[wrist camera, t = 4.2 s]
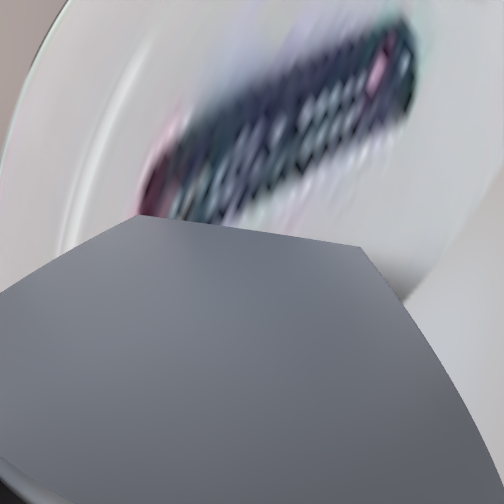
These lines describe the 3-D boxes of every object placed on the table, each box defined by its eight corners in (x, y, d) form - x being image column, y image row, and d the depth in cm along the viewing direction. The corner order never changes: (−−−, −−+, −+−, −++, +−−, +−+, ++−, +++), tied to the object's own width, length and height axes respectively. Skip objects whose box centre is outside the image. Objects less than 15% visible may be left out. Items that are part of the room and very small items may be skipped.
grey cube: (310, 406, 12) (313, 587, 4) (146, 377, 12) (66, 532, 4) (360, 247, 9) (509, 500, 1) (137, 214, 10) (-89, 361, 1)
